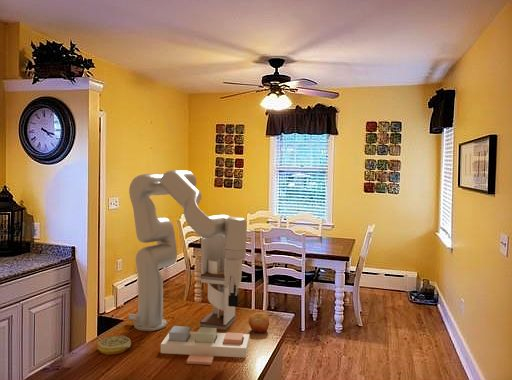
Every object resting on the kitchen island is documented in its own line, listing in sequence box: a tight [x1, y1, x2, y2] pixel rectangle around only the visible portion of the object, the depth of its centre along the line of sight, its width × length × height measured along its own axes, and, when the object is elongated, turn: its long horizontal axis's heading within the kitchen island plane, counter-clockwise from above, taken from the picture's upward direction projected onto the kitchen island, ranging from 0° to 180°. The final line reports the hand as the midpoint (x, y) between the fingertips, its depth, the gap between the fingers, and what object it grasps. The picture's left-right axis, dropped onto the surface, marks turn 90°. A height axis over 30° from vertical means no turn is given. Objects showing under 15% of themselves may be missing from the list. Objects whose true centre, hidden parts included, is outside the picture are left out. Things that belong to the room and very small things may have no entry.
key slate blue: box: [168, 325, 191, 342], centre depth 150 cm, size 6×6×3 cm
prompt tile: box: [186, 354, 215, 366], centre depth 139 cm, size 8×5×1 cm, turn 85°
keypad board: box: [160, 330, 251, 359], centre depth 149 cm, size 29×12×3 cm, turn 85°
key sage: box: [196, 327, 218, 343], centre depth 149 cm, size 6×6×3 cm
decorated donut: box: [97, 335, 132, 356], centre depth 147 cm, size 10×11×4 cm
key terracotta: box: [224, 331, 244, 345], centre depth 148 cm, size 6×6×3 cm
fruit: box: [247, 311, 270, 333], centre depth 166 cm, size 8×8×8 cm
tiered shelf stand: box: [199, 235, 236, 331], centre depth 172 cm, size 11×11×35 cm
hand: (233, 305), depth 148 cm, fingers closed
